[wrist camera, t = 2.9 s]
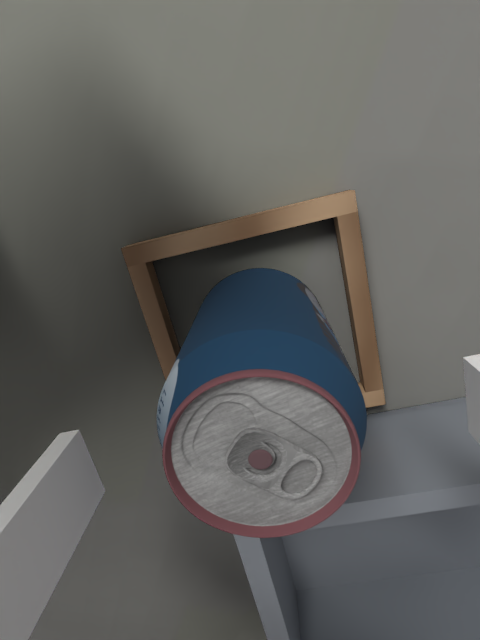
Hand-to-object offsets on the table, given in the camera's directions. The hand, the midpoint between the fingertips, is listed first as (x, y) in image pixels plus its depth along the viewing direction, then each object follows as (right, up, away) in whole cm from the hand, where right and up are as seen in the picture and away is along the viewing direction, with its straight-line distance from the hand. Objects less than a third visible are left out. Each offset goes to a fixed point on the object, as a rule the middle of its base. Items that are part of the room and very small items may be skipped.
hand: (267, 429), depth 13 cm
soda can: (0, +4, +9) cm, 10 cm away
